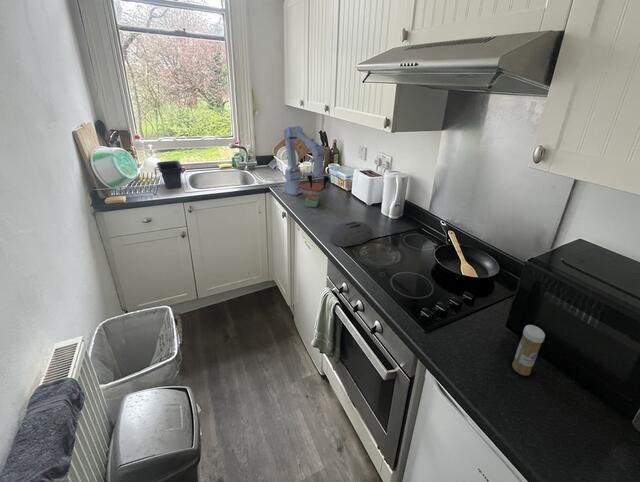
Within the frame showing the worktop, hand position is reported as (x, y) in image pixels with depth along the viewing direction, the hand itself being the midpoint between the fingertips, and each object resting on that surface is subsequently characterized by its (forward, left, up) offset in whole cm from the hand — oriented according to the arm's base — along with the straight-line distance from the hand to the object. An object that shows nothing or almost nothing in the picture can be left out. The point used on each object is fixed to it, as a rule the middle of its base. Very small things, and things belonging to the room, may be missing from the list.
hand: (317, 188), depth 181 cm
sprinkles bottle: (+107, -74, -10) cm, 131 cm away
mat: (-19, +27, -10) cm, 34 cm away
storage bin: (-100, -25, -10) cm, 104 cm away
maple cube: (-2, -3, -6) cm, 7 cm away
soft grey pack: (+37, -32, -10) cm, 50 cm away
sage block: (-2, -3, -10) cm, 11 cm away
